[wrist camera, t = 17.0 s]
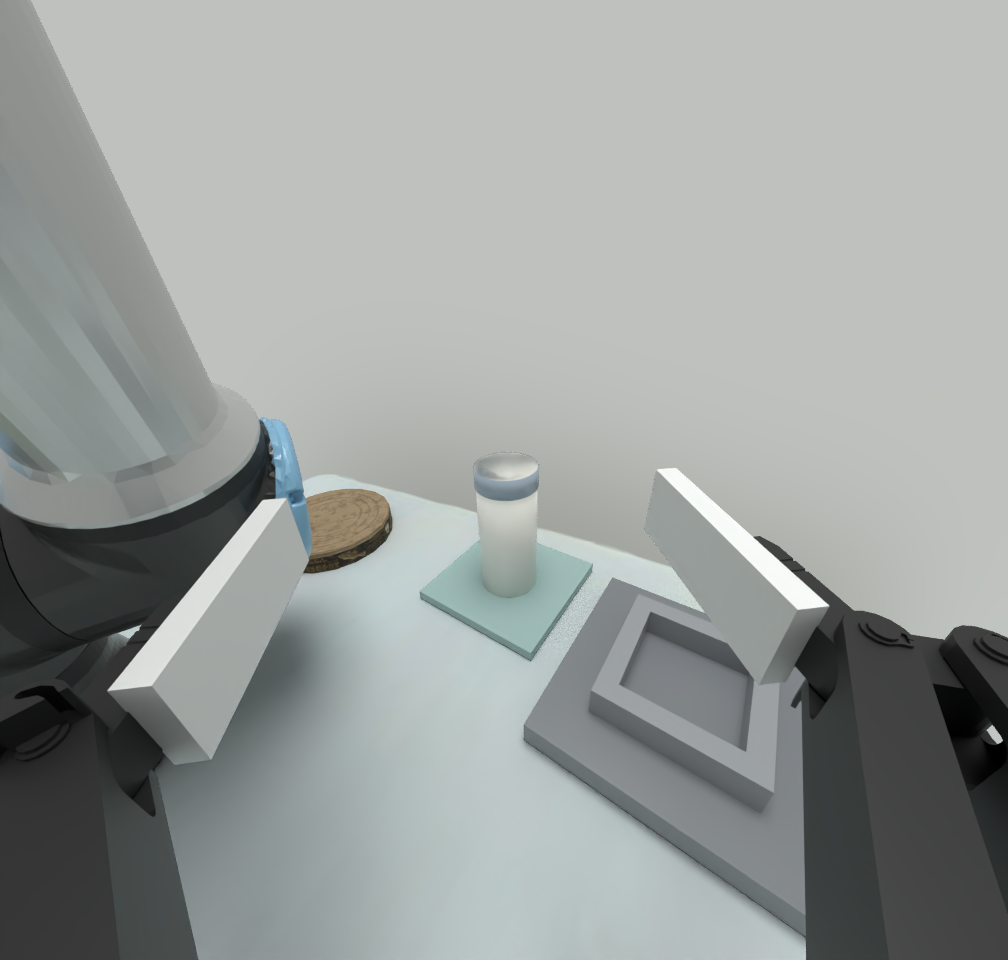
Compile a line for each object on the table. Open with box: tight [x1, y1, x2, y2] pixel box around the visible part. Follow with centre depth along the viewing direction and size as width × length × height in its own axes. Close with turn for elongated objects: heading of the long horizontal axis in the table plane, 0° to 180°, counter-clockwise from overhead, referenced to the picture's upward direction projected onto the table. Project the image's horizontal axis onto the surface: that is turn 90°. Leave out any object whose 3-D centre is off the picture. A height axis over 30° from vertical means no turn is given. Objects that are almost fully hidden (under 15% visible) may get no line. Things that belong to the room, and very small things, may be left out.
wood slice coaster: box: [303, 489, 392, 573], centre depth 52 cm, size 16×16×3 cm
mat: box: [420, 540, 593, 660], centre depth 43 cm, size 14×14×1 cm
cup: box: [473, 452, 539, 598], centre depth 39 cm, size 6×6×14 cm
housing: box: [524, 578, 806, 937], centre depth 29 cm, size 18×18×4 cm
